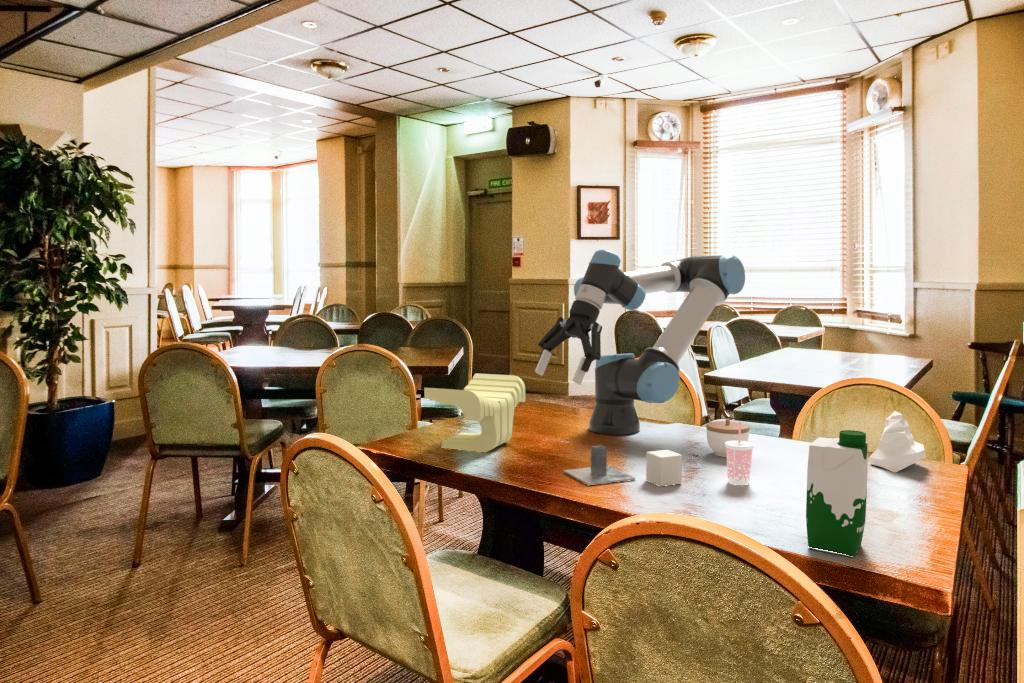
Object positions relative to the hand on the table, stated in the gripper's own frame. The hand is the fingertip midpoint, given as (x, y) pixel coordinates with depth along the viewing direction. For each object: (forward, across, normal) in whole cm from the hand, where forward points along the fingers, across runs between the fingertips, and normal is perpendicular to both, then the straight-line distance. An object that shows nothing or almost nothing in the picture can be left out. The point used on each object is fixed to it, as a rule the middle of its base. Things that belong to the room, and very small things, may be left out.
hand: (556, 378), depth 185 cm
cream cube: (+16, +36, +7) cm, 40 cm away
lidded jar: (+1, +32, +37) cm, 49 cm away
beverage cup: (+10, +48, +17) cm, 52 cm away
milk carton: (+19, +79, -4) cm, 81 cm away
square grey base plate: (+20, +23, +1) cm, 31 cm away
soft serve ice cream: (-11, +66, +53) cm, 85 cm away
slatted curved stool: (+23, -20, +2) cm, 31 cm away
